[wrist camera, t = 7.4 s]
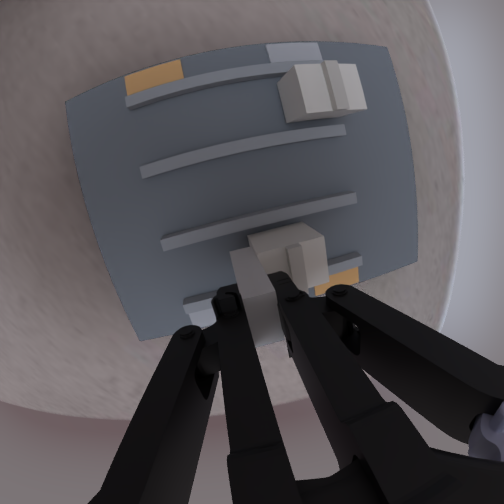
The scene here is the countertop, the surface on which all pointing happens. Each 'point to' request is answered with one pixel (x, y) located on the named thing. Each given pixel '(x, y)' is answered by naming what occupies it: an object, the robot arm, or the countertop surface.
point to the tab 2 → (293, 254)
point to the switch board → (238, 175)
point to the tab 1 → (321, 91)
